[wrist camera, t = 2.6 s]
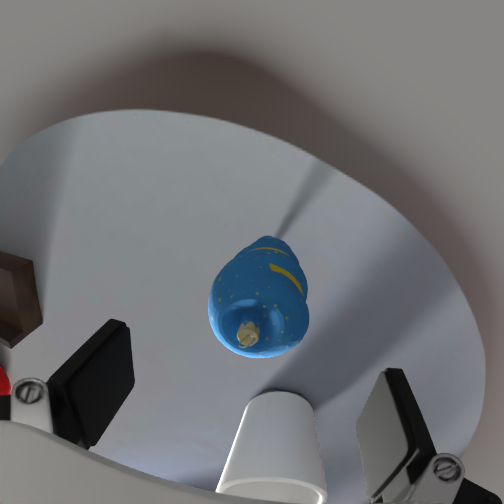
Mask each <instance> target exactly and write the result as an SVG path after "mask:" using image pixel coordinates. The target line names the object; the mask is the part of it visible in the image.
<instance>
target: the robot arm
mask: <svg viewBox="0 0 504 504" xmlns="http://www.w3.org/2000/svg"><path fill="white" fill-rule="evenodd" d="M134 383H135V378H134V369H133V360H132V350H131V338H130V329H129V327H127V326H126V323H125V322H122V321H118V320H115V319H110V320H108V321H107V322H106V323H105V324H104V325H103V326H102V327H101V328H100V329H99V330H98V331H97V332H96V333H95V334H94V335H93V336H92V337H90V338H89V339H88V340H87V341H86V342H85V343H84V344H83V345H82V346H81V347H80V348H79V349H78V350H77V351H76V352H75V353H74V354H73V355H72V356H71V357H70V358H69V359H68V360H67V361H66V362H65V363H64V364H63V365H62V366H61V367H60V368H59V369H58V370H57V371H56V372H55V373H54V374H53V375H52V376H51V377H50V378H49V380H48V381H47V382H46V383H45V382H43V381H42V380H40V379H37V378H25V379H22V380H20V381H18V382H17V383H16V384H15V385H14V386H13V388H12V391H11V394H9V395H0V504H301V503H287V502H276V501H267V500H259V499H252V498H245V497H239V496H233V495H228V494H222V493H217V492H213V491H208V490H204V489H199V488H195V487H191V486H187V485H183V484H180V483H176V482H173V481H169V480H166V479H162V478H159V477H156V476H153V475H150V474H147V473H144V472H141V471H138V470H135V469H133V468H130V467H127V466H124V465H122V464H119V463H117V462H114V461H112V460H109V459H107V458H105V457H102V456H100V455H97V454H95V453H93V452H90V451H88V449H89V448H90V446H95V445H96V444H97V442H98V441H99V439H100V438H101V436H102V434H103V433H104V431H105V430H106V428H107V427H108V425H109V424H110V422H111V421H112V419H113V418H114V416H115V415H116V413H117V411H118V410H119V408H120V407H121V405H122V404H123V402H124V401H125V399H126V398H127V396H128V395H129V393H130V392H131V390H132V389H133V387H134ZM356 430H357V436H358V441H359V448H360V454H361V460H362V467H363V474H364V481H365V488H366V495H367V497H368V498H371V504H502V501H501V499H500V498H499V497H498V496H497V495H495V494H494V493H492V492H490V491H488V490H486V489H484V488H482V487H480V486H478V485H477V484H475V483H473V482H471V481H469V480H467V479H465V478H464V473H465V469H464V465H463V463H462V462H461V461H460V459H459V458H458V457H456V456H455V455H452V454H449V453H440V454H437V453H436V450H435V447H434V445H433V442H432V439H431V437H430V434H429V431H428V429H427V426H426V424H425V421H424V419H423V416H422V414H421V411H420V409H419V406H418V404H417V402H416V400H415V397H414V395H413V392H412V390H411V388H410V386H409V383H408V381H407V379H406V376H405V374H404V372H403V370H402V369H398V368H387V369H386V370H385V371H382V372H381V373H380V375H379V377H378V379H377V381H376V383H375V386H374V388H373V390H372V392H371V394H370V396H369V398H368V400H367V402H366V404H365V406H364V408H363V410H362V412H361V414H360V416H359V418H358V420H357V424H356Z"/></svg>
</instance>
